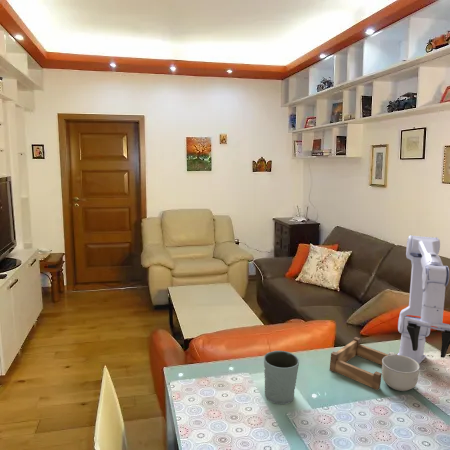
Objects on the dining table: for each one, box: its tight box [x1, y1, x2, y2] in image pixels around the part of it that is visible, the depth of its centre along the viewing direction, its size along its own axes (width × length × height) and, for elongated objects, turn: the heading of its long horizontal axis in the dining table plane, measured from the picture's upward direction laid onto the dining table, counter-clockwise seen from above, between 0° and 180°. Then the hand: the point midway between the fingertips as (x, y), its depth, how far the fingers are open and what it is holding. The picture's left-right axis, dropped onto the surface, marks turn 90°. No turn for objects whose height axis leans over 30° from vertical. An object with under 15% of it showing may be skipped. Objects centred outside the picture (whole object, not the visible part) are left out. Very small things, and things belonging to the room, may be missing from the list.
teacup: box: [381, 351, 421, 392], centre depth 136 cm, size 14×11×8 cm
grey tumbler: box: [263, 350, 300, 405], centre depth 126 cm, size 10×10×12 cm
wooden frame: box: [329, 336, 398, 391], centre depth 143 cm, size 18×16×6 cm
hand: (428, 353), depth 124 cm, fingers open, 7 cm apart
